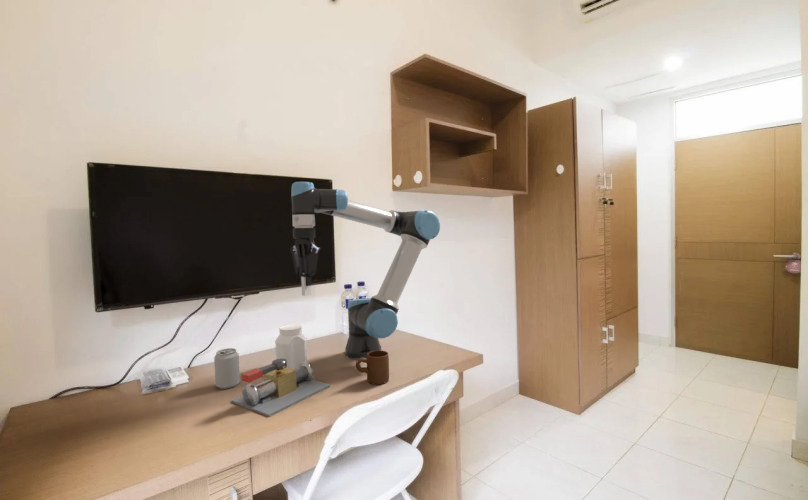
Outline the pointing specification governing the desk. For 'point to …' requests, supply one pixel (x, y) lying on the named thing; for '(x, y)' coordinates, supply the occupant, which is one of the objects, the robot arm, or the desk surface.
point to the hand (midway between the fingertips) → (306, 294)
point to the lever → (264, 370)
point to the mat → (284, 398)
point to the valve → (277, 384)
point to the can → (227, 368)
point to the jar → (291, 345)
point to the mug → (375, 367)
